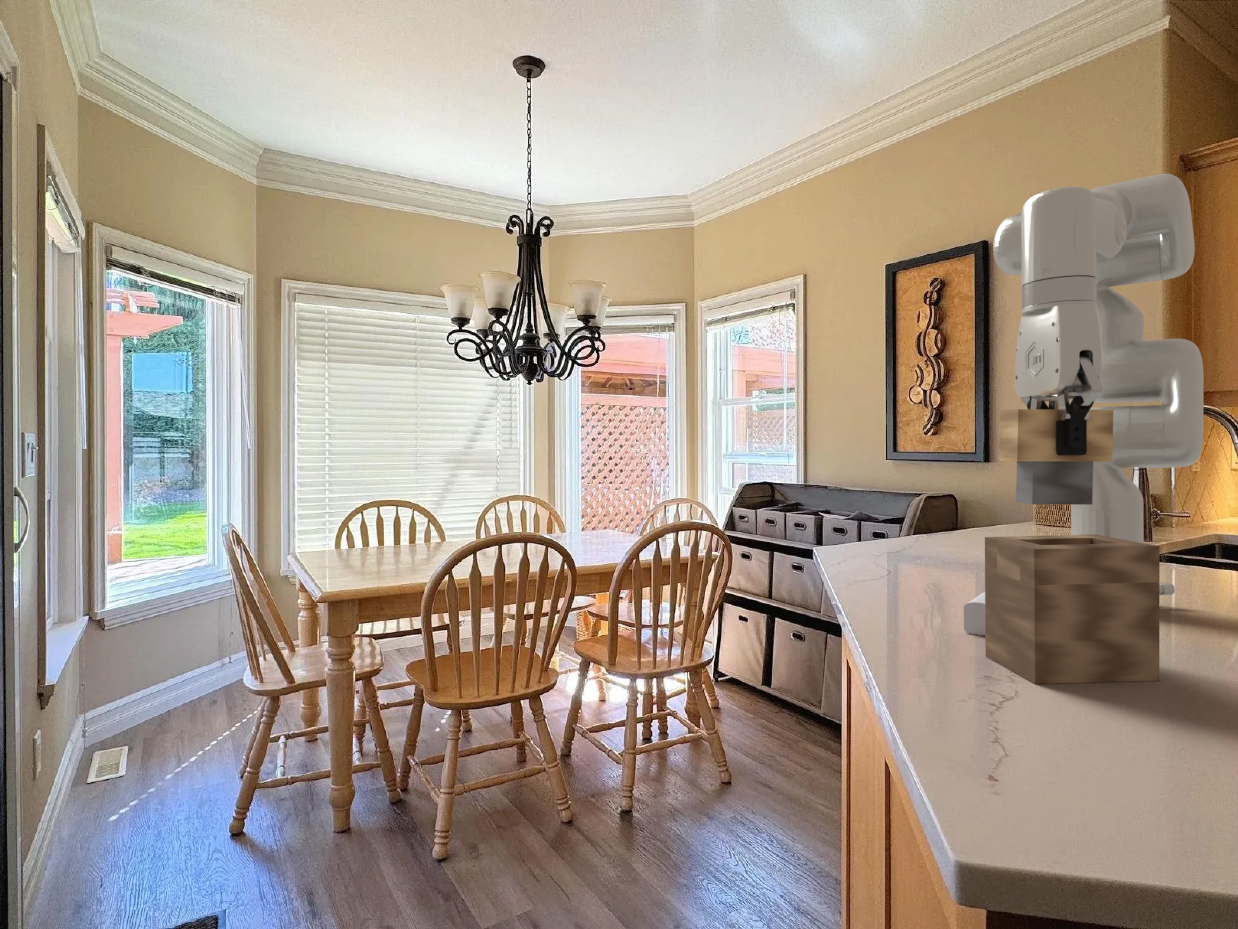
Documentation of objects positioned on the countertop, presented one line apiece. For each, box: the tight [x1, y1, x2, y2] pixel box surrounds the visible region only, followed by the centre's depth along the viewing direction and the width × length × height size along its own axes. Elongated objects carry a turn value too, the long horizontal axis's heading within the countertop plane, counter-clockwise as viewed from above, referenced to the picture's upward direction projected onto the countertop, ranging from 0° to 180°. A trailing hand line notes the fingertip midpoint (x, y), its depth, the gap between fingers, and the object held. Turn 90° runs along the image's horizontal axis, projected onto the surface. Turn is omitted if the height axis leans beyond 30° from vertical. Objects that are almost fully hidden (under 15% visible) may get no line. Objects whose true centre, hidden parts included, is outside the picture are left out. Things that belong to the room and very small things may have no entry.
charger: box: [963, 591, 985, 636], centre depth 104 cm, size 5×9×15 cm
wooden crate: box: [984, 534, 1160, 685], centre depth 85 cm, size 14×10×15 cm
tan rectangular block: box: [998, 408, 1113, 505], centre depth 86 cm, size 11×4×11 cm, turn 90°
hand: (1058, 453), depth 86 cm, fingers closed on tan rectangular block, 4 cm apart
